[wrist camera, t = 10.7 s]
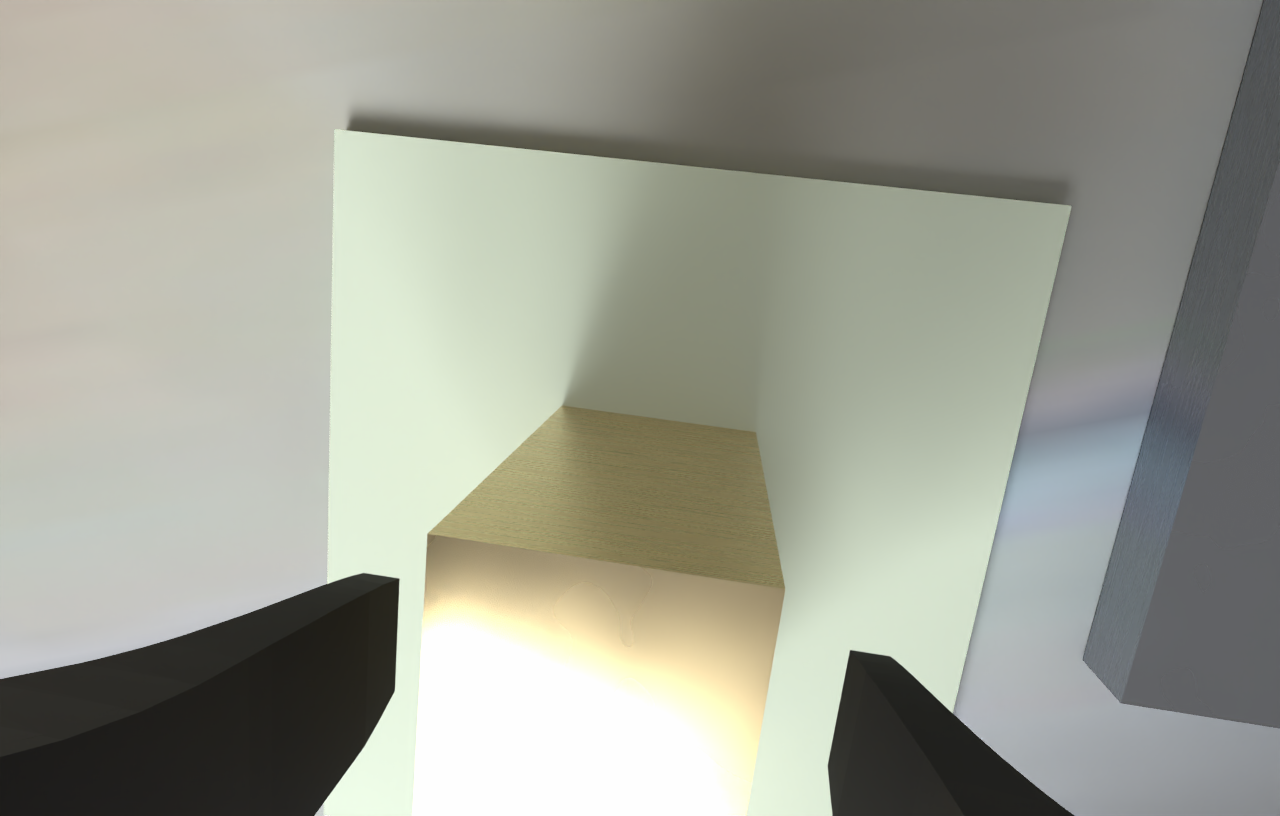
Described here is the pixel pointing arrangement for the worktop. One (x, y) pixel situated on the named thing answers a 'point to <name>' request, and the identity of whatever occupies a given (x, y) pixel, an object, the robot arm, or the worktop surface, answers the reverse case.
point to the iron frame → (1211, 455)
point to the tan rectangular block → (601, 626)
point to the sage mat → (687, 389)
